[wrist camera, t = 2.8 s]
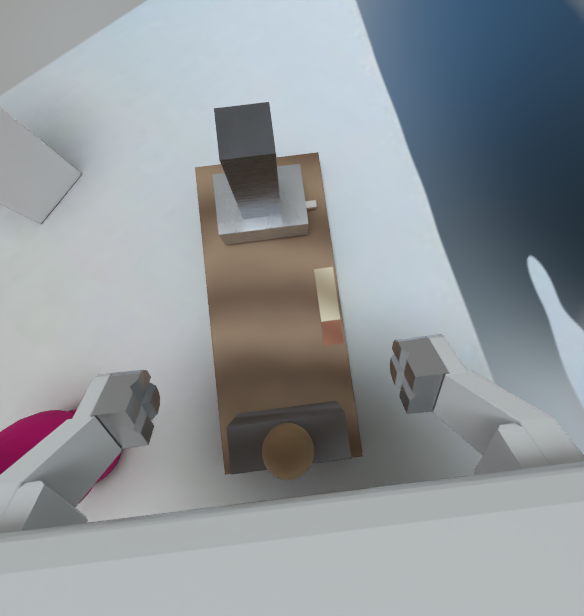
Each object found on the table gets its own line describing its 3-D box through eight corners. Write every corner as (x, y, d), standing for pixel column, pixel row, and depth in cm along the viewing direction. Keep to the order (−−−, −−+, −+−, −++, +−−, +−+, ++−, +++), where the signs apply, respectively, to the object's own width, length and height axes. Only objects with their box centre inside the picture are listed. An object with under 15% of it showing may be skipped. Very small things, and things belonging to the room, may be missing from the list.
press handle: (320, 233, 27) (336, 163, 17) (225, 244, 27) (183, 182, 17) (311, 178, 28) (323, 78, 18) (219, 189, 28) (175, 96, 18)
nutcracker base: (358, 450, 27) (392, 502, 18) (228, 467, 27) (195, 529, 18) (316, 162, 30) (327, 81, 21) (200, 176, 30) (159, 101, 21)
